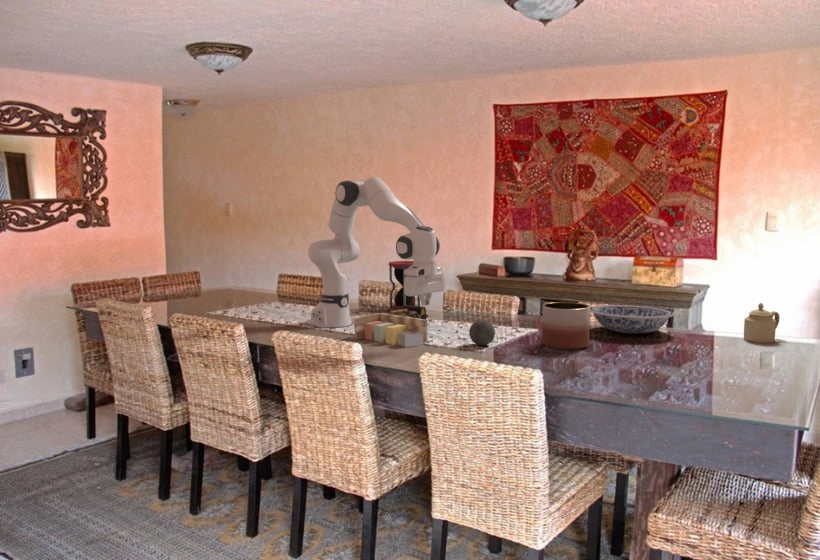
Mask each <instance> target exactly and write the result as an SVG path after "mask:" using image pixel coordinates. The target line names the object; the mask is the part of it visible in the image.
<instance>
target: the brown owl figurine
mask: <svg viewBox="0 0 820 560" xmlns="http://www.w3.org/2000/svg"><path fill="white" fill-rule="evenodd" d="M384 313H385V314H391V315H398V316H405V317H411V318H418V319H424V320H427V318H428V317H429V314H427V309H426V307H425V306H422V305H420V306H418V305H416V306H410V305H405V306H404V307H403V309H402V310H398V309H396V308H393V309H392V311H387V312H384Z"/></svg>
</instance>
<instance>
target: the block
mask: <svg viewBox="0 0 820 560" xmlns="http://www.w3.org/2000/svg"><path fill="white" fill-rule="evenodd" d="M397 344H398V346H400V347H403V348H411V347H420V346H424V342H423V333H422V332H419V331H416V330H415V331H407V332H398V343H397Z"/></svg>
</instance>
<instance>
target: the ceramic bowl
mask: <svg viewBox="0 0 820 560" xmlns="http://www.w3.org/2000/svg"><path fill="white" fill-rule="evenodd" d="M589 313H592V314H593V316H594V318H595V320H596V321H597V322H598V323H599V324H600V325H601V326H602V327H604V328H605V329H607V330H611V331H613V332H618V333H622V334H624V333H625V334H629V335H630V334H631V335H634V334H646V333H647V334H648V333H652V332H655V331H657V330H659V329H660V328H661V329H662V327H663V326H664V325H665V324H666V323H667V322H668V320H669V318H672V317H674V316H675V312H674V311H672V310H668V309H664V308H659V307H653V306H645V305H644V306H643V305H630V304H629V305H628V304H625V305H624V304H606V305H605V304H603V305H602V304H601V305H595V306H591V307H590V306H589Z"/></svg>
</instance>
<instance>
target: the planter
mask: <svg viewBox="0 0 820 560" xmlns="http://www.w3.org/2000/svg"><path fill="white" fill-rule="evenodd" d="M589 308H590V305H588V304H585V303H580V302H573V301H571V302H570V301H569V302H568V301H557V302H556V301H555V302H552V301H551V302H546V303H543V304H542V319H541V320H542V322H541V323H542V324H541V326H542V327H541V343H542V345H544V346H545V347H548V348H551V349H553V350H565V351H572V350H573V351H574V350H575V351H576V350H582V349H585V348H586V347H588V346H589V343H590V311H589Z"/></svg>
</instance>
